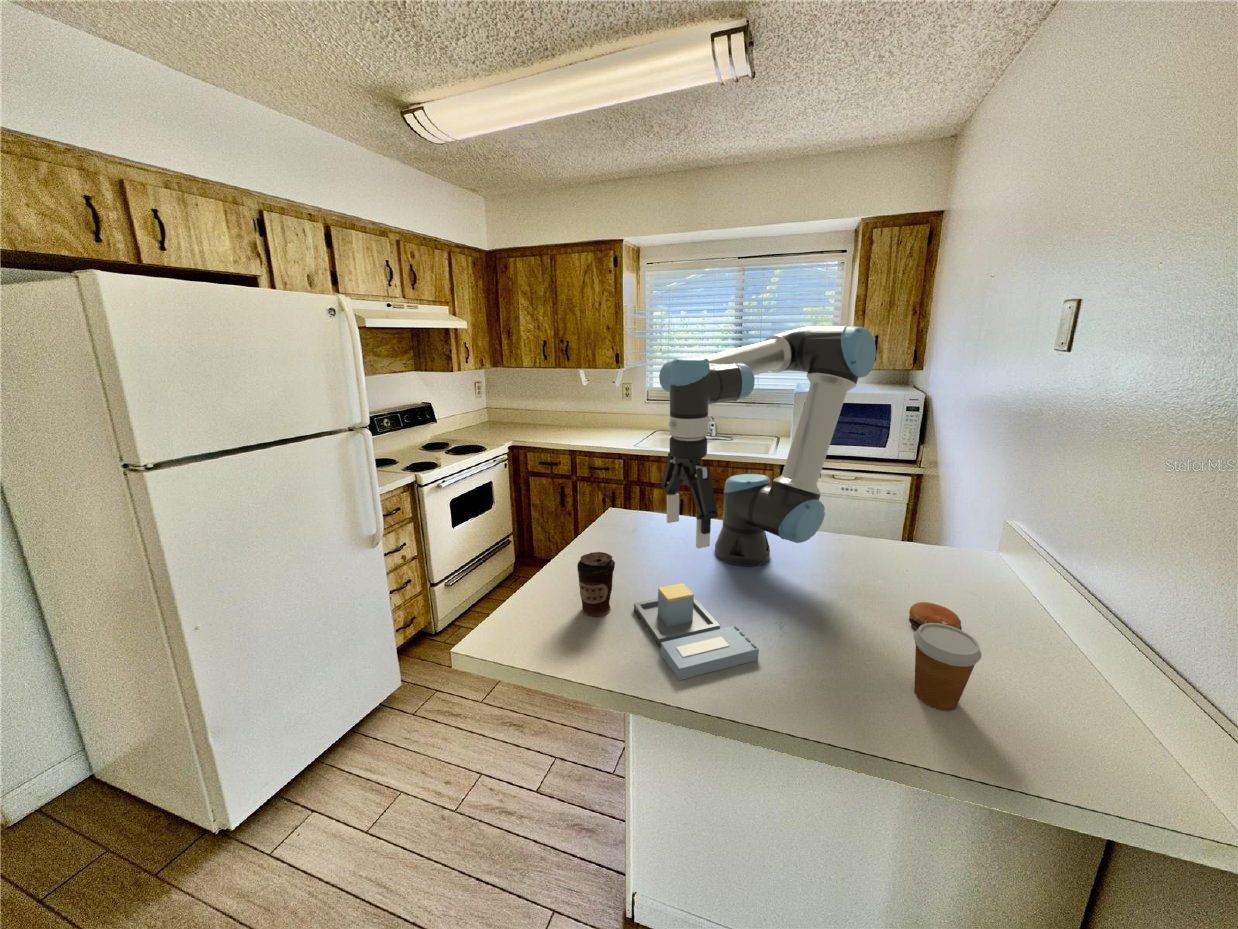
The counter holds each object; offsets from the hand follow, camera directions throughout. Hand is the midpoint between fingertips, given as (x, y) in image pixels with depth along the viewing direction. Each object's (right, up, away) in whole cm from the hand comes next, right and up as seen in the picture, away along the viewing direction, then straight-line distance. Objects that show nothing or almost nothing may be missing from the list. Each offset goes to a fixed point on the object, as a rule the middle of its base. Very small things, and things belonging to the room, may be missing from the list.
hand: (686, 533), depth 103 cm
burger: (+53, -21, 0) cm, 57 cm away
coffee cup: (-20, -19, +7) cm, 28 cm away
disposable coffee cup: (+41, -26, -19) cm, 52 cm away
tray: (-2, -20, +3) cm, 20 cm away
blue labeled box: (+3, -23, -9) cm, 25 cm away
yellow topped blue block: (-2, -19, +3) cm, 19 cm away
